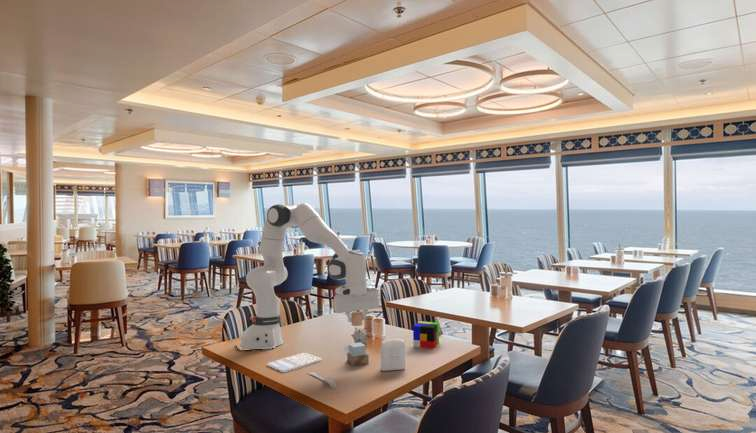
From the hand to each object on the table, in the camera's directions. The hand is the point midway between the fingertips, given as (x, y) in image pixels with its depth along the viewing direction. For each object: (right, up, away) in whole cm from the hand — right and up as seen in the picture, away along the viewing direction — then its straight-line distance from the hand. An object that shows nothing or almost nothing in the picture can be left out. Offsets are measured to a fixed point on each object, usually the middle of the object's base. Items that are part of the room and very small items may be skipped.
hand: (356, 320), depth 187 cm
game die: (0, -18, +27) cm, 32 cm away
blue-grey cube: (0, -14, 0) cm, 14 cm away
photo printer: (+15, -18, -8) cm, 25 cm away
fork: (-12, -19, -19) cm, 30 cm away
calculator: (-27, -19, 0) cm, 33 cm away
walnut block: (0, -18, 0) cm, 18 cm away
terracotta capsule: (0, -2, 0) cm, 2 cm away
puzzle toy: (+33, -18, +25) cm, 45 cm away
